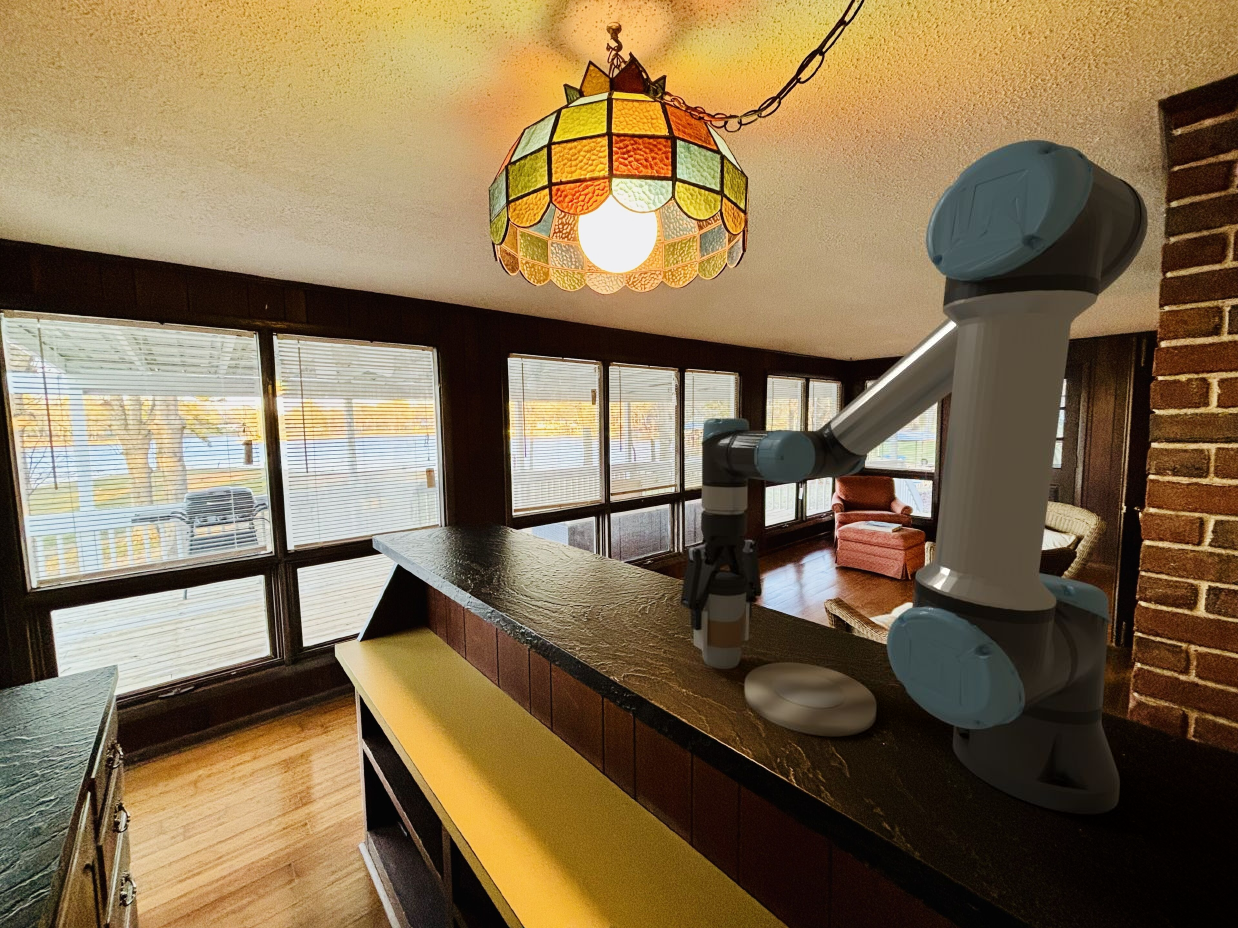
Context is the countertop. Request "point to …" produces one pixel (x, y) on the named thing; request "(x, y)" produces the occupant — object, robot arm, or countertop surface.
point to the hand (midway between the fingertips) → (721, 642)
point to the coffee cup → (725, 620)
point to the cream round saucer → (810, 699)
